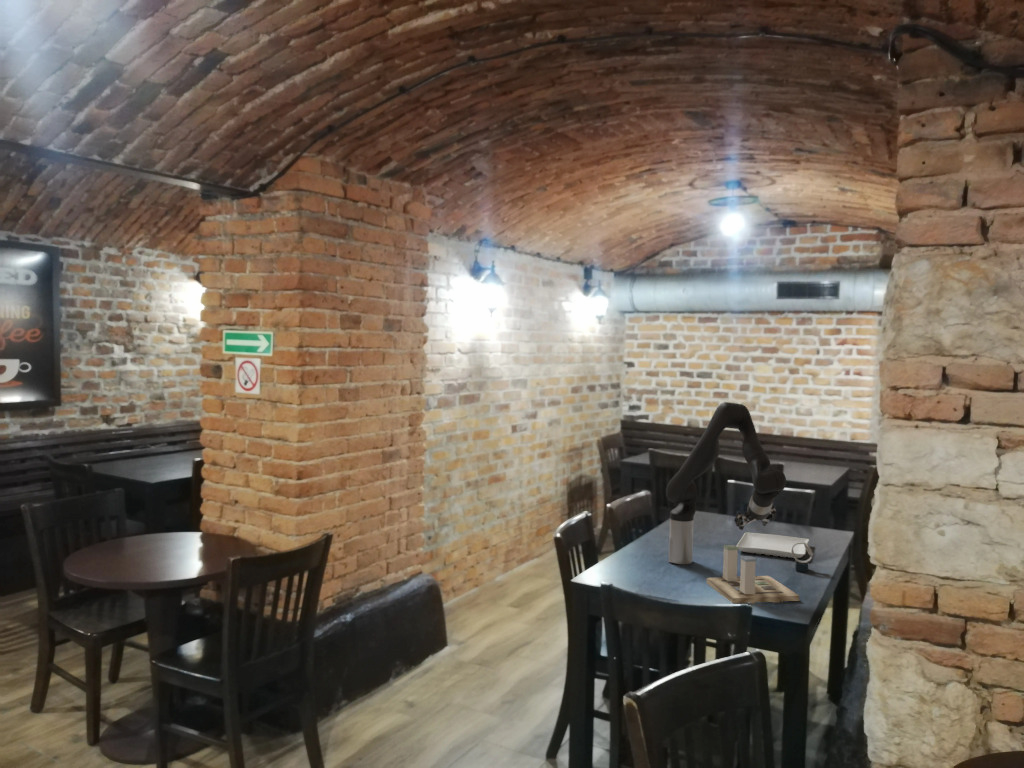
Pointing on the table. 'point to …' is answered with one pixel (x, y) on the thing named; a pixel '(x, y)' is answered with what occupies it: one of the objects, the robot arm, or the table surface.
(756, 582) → the switch board
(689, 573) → the table surface
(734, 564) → the tall beige block
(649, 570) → the table surface
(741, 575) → the near switch
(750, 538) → the square plate
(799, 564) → the watch
